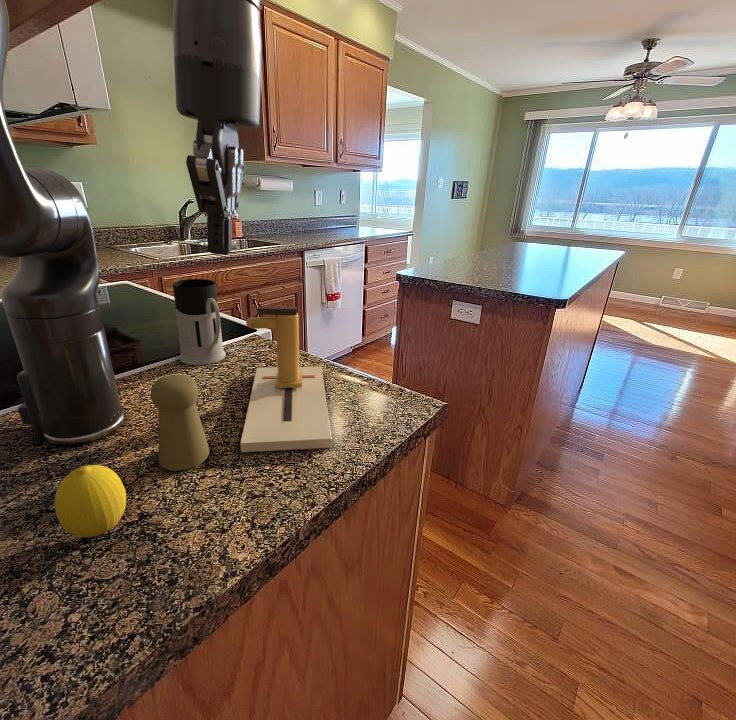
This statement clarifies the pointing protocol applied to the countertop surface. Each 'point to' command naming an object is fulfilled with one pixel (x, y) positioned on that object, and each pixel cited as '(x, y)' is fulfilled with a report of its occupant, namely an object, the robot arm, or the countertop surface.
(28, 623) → the countertop surface
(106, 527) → the lemon
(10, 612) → the countertop surface
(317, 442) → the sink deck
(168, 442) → the cork
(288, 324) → the tap
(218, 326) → the glass holder
